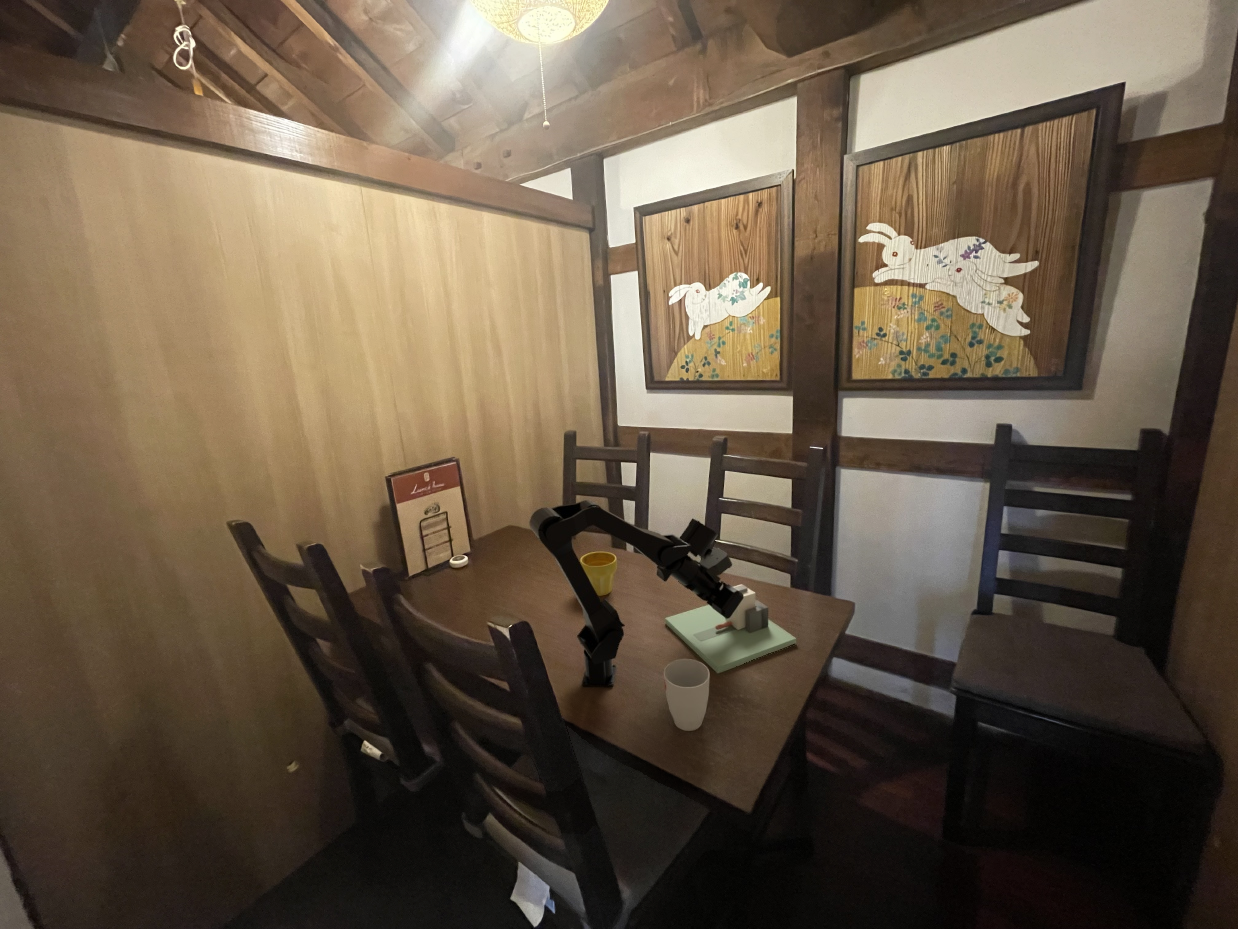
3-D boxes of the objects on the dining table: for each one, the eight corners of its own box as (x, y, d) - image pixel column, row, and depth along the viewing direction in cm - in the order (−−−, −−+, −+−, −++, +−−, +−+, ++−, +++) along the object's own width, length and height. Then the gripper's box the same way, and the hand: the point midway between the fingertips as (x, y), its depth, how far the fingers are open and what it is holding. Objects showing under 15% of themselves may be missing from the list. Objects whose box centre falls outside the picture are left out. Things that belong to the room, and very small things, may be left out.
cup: (681, 699, 96) (679, 653, 94) (718, 716, 91) (717, 668, 89) (657, 724, 90) (654, 676, 88) (696, 744, 85) (694, 694, 83)
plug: (722, 635, 113) (721, 600, 111) (709, 624, 118) (708, 590, 116) (755, 624, 117) (755, 589, 115) (742, 614, 121) (741, 581, 119)
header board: (717, 673, 103) (717, 663, 103) (665, 623, 123) (665, 615, 122) (796, 644, 111) (796, 635, 111) (735, 601, 131) (735, 593, 130)
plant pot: (625, 586, 143) (623, 554, 141) (606, 602, 135) (603, 569, 133) (595, 579, 149) (592, 548, 146) (575, 594, 140) (572, 562, 138)
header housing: (749, 633, 114) (749, 613, 113) (726, 615, 122) (726, 597, 121) (768, 626, 116) (768, 607, 115) (744, 610, 124) (744, 591, 123)
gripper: (735, 556, 101) (777, 592, 108) (686, 529, 118) (726, 561, 125) (703, 602, 100) (748, 635, 107) (659, 567, 117) (700, 598, 124)
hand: (730, 604), depth 116 cm, fingers closed, pressing on plug
